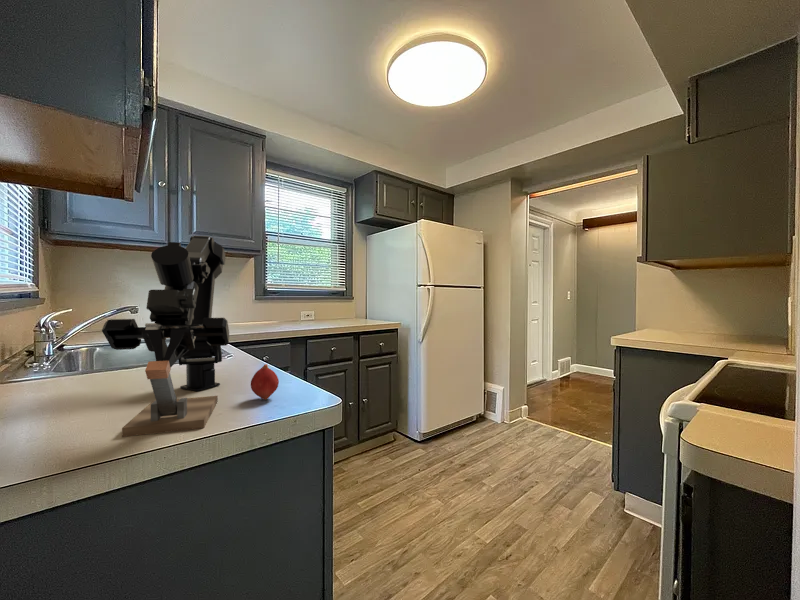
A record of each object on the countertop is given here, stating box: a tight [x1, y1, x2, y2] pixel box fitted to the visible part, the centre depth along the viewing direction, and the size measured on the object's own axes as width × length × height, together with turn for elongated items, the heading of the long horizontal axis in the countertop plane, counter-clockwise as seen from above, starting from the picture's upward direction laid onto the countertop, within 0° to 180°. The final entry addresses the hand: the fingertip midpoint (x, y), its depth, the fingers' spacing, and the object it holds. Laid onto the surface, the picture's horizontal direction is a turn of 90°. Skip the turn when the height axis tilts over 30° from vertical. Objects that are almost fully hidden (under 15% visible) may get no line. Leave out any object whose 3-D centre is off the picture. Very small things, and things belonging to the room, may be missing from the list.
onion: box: [250, 363, 280, 401], centre depth 78 cm, size 6×6×8 cm
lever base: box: [121, 395, 219, 438], centre depth 67 cm, size 15×12×4 cm
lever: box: [144, 360, 177, 416], centre depth 59 cm, size 2×3×12 cm
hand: (161, 373), depth 58 cm, fingers closed, pressing on lever
